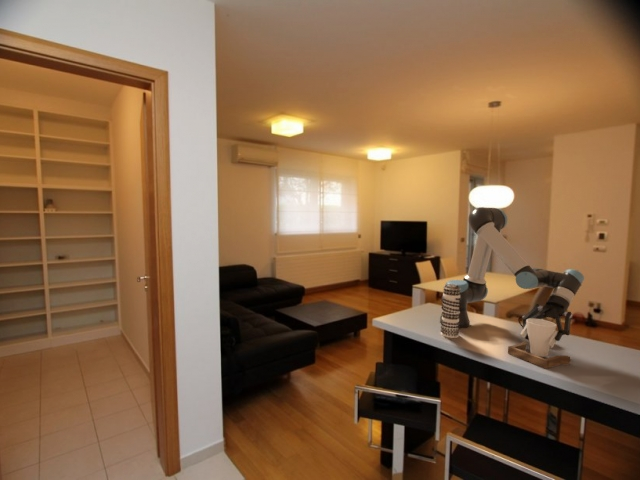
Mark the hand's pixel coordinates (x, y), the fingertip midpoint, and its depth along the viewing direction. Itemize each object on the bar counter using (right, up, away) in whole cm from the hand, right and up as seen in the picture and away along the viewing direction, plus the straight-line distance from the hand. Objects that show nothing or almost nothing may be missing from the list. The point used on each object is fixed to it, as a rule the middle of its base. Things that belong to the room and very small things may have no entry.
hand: (535, 340), depth 133 cm
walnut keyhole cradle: (+1, -7, +1) cm, 8 cm away
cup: (+3, -6, +2) cm, 7 cm away
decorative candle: (-25, -5, +26) cm, 37 cm away
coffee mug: (+14, -6, +25) cm, 30 cm away
